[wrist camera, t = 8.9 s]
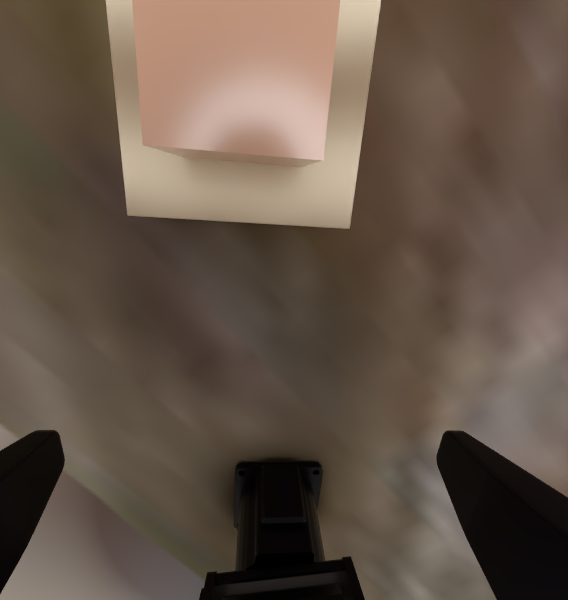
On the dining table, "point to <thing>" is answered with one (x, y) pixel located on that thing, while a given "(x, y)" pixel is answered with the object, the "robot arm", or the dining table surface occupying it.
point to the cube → (236, 78)
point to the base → (249, 176)
